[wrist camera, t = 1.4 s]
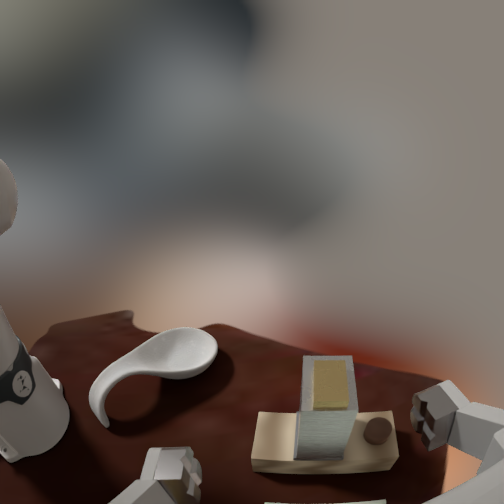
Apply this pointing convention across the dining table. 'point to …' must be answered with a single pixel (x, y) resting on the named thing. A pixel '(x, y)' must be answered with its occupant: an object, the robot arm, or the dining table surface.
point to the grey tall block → (326, 407)
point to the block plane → (353, 459)
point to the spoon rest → (157, 362)
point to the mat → (368, 503)
